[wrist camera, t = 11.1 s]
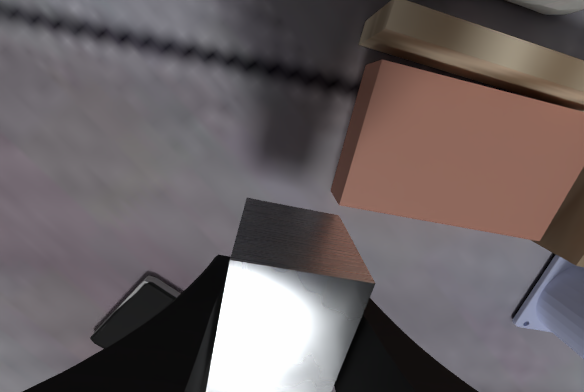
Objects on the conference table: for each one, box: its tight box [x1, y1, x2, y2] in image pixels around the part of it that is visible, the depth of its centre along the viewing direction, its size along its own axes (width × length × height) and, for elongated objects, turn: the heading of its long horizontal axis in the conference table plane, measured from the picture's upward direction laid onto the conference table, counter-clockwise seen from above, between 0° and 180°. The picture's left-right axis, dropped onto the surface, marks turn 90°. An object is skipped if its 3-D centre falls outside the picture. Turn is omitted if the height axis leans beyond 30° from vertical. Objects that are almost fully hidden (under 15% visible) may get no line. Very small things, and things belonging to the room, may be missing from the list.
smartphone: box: [90, 276, 214, 392], centre depth 23 cm, size 8×1×15 cm
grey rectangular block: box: [206, 198, 375, 392], centre depth 10 cm, size 4×6×4 cm, turn 167°
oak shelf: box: [359, 0, 584, 267], centre depth 16 cm, size 18×10×4 cm, turn 76°
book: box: [331, 59, 584, 241], centre depth 17 cm, size 14×8×3 cm, turn 78°
